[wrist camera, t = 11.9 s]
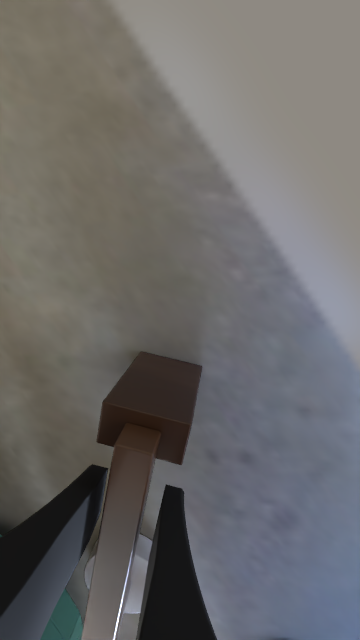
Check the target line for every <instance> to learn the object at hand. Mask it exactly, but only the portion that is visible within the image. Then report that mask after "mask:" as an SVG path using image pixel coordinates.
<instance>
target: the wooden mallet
mask: <svg viewBox="0 0 360 640" xmlns="http://www.w3.org/2000/svg"><path fill="white" fill-rule="evenodd" d="M201 370H202V366H199V365H195V364H191V363H187V362H183V361H178V360H174V359H170V358H166V357H162V356H158V355H154V354H150V353H145V352H140V354H139V355H138V356H137V357H136V359H135V360H134V361H133V363H132V364H131V365H130V367H129V368H128V369H127V371H126V372H125V373H124V375H123V376H122V377H121V378H120V380H119V381H118V382H117V384H116V385H115V386H114V388H113V389H112V390H111V392H110V393H109V394H108V396H107V397H106V398H105V399H104V401H103V403H102V409H101V416H100V422H99V429H98V435H97V442H98V443H101V444H105V445H108V446H112V447H114V451H113V456H112V462H111V468H110V474H109V480H108V486H107V491H106V497H105V503H104V509H103V515H102V520H101V526H100V532H99V538H98V541H97V542H96V543H95V545H94V547H93V550H92V552H91V554H90V557H89V559H88V561H87V564H86V566H85V570H84V579H85V583H86V586H87V588H88V590H89V596H88V602H87V608H86V614H85V619H84V625H83V631H82V637H81V640H117V637H118V633H119V629H120V626H121V622H122V618H123V615H124V613H140V612H141V605H142V599H143V592H144V586H145V579H146V573H147V566H148V560H149V555H150V551H151V546H152V542H153V541H151V540H150V539H148V538H147V537H145V536H143V535H141V534H140V529H141V524H142V520H143V515H144V510H145V506H146V501H147V496H148V492H149V487H150V482H151V478H152V473H153V468H154V464H155V459H156V458H157V459H160V460H164V461H168V462H171V463H175V464H179V465H182V463H183V459H184V455H185V451H186V447H187V442H188V438H189V434H190V430H191V426H192V421H193V415H194V409H195V404H196V398H197V393H198V387H199V382H200V376H201Z"/></svg>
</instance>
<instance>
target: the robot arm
mask: <svg viewBox="0 0 360 640" xmlns="http://www.w3.org/2000/svg"><path fill="white" fill-rule="evenodd" d="M107 472H108V468H104V467H101V466H97V465H93V464H92V465H91V466H89V467H88V468H87V469H86V470H85V471H84V472H83V473H82V474H81V475H80V476H79V477H78V478H77V479H76V480H74V481H73V482H72V483H71V484H70V485H69V486H68V487H67V488H66V489H64V490H63V491H62V492H61V493H60V494H58V495H57V496H56V497H55V498H54V499H53V500H51V501H50V502H49V503H48V504H46V505H45V506H44V507H43V508H41V509H40V510H39V511H37V512H36V513H35V514H33V515H32V516H31V517H29V518H28V519H27V520H25V521H24V522H23V523H21V524H20V525H18V526H17V527H16V528H14V529H13V530H11V531H10V532H8V533H7V534H5V535H4V536H2V537H1V538H0V640H40V639H41V637H42V634H43V632H44V630H45V627H46V625H47V623H48V621H49V619H50V617H51V614H52V612H53V610H54V608H55V606H56V604H57V602H58V600H59V598H60V597H61V595H62V593H63V591H64V589H65V587H66V585H67V583H68V581H69V579H70V577H71V575H72V573H73V571H74V569H75V568H76V566H77V564H78V562H79V560H80V558H81V556H82V554H83V552H84V550H85V548H86V546H87V544H88V542H89V540H90V538H91V535H92V533H93V530H94V528H95V525H96V523H97V520H98V517H99V515H100V512H101V507H102V501H103V495H104V490H105V484H106V478H107ZM136 640H217V638H216V636H215V633H214V630H213V628H212V625H211V622H210V619H209V616H208V613H207V610H206V607H205V604H204V601H203V597H202V594H201V591H200V587H199V584H198V580H197V576H196V572H195V568H194V564H193V560H192V555H191V550H190V545H189V540H188V534H187V528H186V521H185V511H184V491H183V490H182V489H181V488H177V487H173V486H170V485H166V486H165V490H164V494H163V498H162V503H161V507H160V511H159V516H158V520H157V524H156V529H155V533H154V537H153V542H152V546H151V551H150V555H149V560H148V566H147V573H146V579H145V586H144V592H143V599H142V605H141V612H140V618H139V625H138V631H137V637H136Z"/></svg>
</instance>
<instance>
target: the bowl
mask: <svg viewBox="0 0 360 640" xmlns="http://www.w3.org/2000/svg"><path fill="white" fill-rule="evenodd" d="M1 537H2V535H1V534H0V538H1ZM82 631H83V623H82V618H81V614H80V613H79V610H78V608H77V606H76V605H75V603H74V602H73V600H72V598H71V597H70V595H69V593H68V592H67V590H66V589H64V591H63V593H62V595H61V597H60V598H59V600H58V602H57V604H56V606H55V608H54V610H53V612H52V614H51V617H50V619H49V621H48V623H47V625H46V627H45V630H44V632H43V634H42V637H41V639H40V640H81V637H82Z"/></svg>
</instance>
